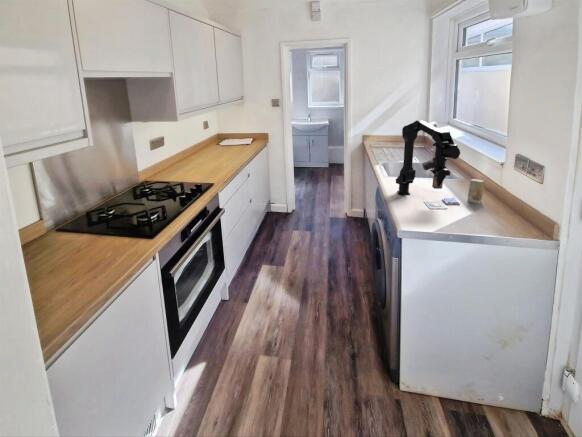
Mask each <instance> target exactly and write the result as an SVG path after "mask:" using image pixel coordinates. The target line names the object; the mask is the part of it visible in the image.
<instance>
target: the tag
mask: <svg viewBox="0 0 582 437" xmlns="http://www.w3.org/2000/svg"><path fill="white" fill-rule="evenodd" d="M423 203H424V205H426V207H427V208H428V209H429V210H448V207H446V205H444V204H443V202H441V201H423Z"/></svg>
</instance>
